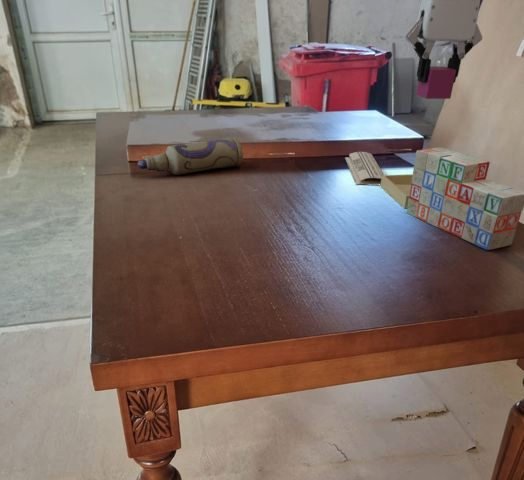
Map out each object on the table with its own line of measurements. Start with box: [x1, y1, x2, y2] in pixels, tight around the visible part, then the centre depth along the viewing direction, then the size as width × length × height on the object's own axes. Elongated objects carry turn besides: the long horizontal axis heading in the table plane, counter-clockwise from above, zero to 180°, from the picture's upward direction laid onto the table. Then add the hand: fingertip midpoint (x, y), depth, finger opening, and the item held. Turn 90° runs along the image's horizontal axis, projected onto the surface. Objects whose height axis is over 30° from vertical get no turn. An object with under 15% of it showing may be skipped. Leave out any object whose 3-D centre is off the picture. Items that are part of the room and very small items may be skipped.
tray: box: [379, 173, 413, 209], centre depth 114 cm, size 11×15×3 cm
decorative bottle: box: [136, 137, 244, 176], centre depth 125 cm, size 26×8×7 cm, turn 119°
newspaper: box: [344, 151, 385, 186], centre depth 130 cm, size 24×7×2 cm, turn 179°
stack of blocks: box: [406, 146, 524, 251], centre depth 95 cm, size 21×6×12 cm, turn 27°
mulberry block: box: [415, 65, 456, 100], centre depth 102 cm, size 5×5×5 cm
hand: (436, 80), depth 102 cm, fingers closed on mulberry block, 5 cm apart
